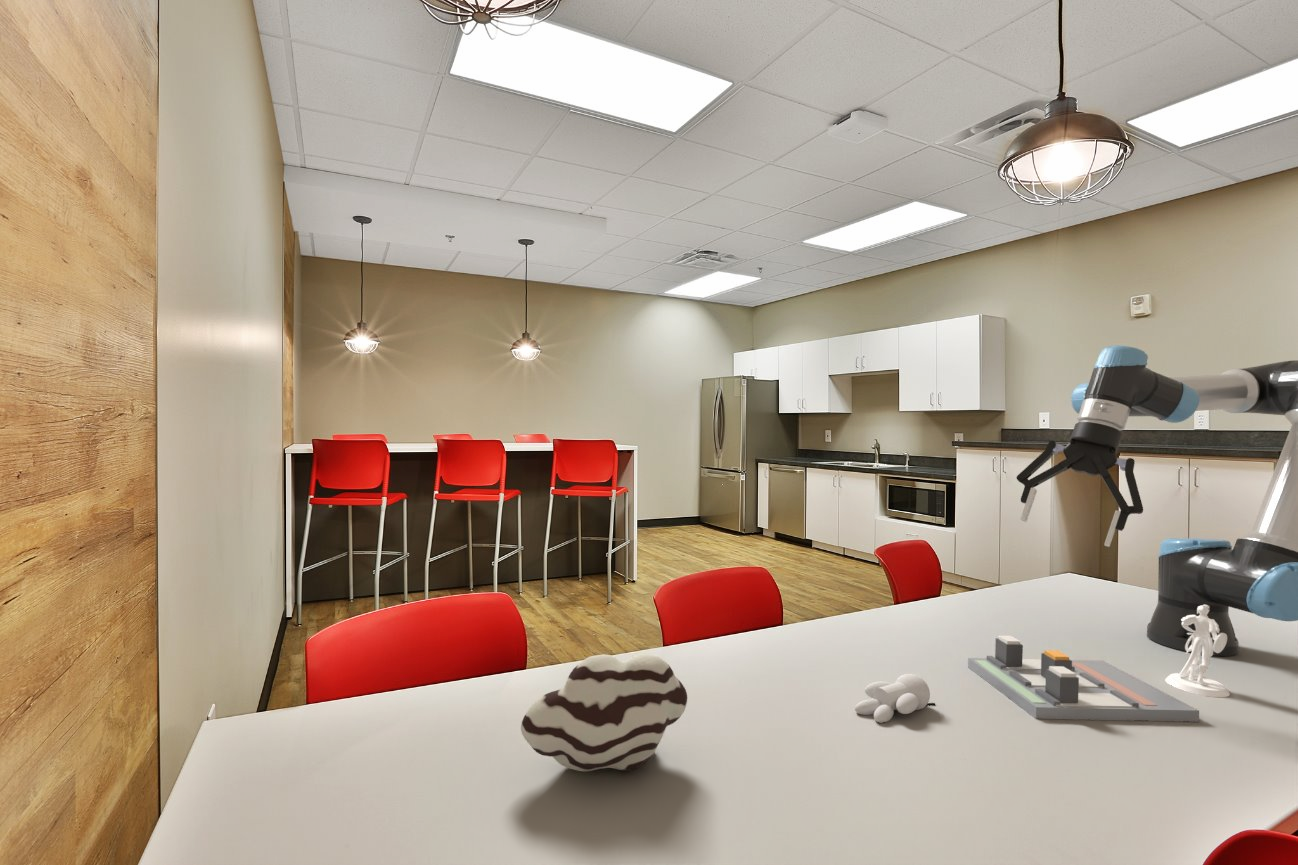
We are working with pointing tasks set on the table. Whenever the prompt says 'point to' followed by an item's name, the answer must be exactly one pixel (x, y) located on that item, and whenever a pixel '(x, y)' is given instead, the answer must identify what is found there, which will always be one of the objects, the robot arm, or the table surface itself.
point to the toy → (894, 697)
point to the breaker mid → (1054, 661)
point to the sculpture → (606, 713)
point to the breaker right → (1062, 684)
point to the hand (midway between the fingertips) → (1063, 532)
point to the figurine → (1206, 646)
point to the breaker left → (1009, 651)
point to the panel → (1084, 692)
